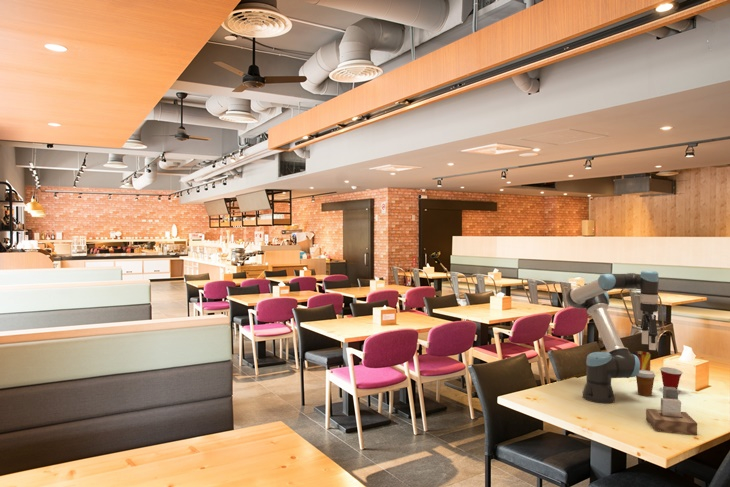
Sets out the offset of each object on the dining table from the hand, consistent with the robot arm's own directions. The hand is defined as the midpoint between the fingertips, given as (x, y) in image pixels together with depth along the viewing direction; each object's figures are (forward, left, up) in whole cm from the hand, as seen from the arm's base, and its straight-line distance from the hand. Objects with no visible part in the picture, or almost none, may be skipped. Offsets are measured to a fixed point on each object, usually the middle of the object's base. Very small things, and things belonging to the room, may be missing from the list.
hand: (648, 346), depth 241 cm
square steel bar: (+9, -2, -31) cm, 32 cm away
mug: (+14, +74, -31) cm, 82 cm away
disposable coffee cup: (+5, +27, -31) cm, 41 cm away
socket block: (+4, -21, -31) cm, 37 cm away
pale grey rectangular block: (+4, -21, -31) cm, 37 cm away
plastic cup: (+20, +37, -31) cm, 52 cm away
